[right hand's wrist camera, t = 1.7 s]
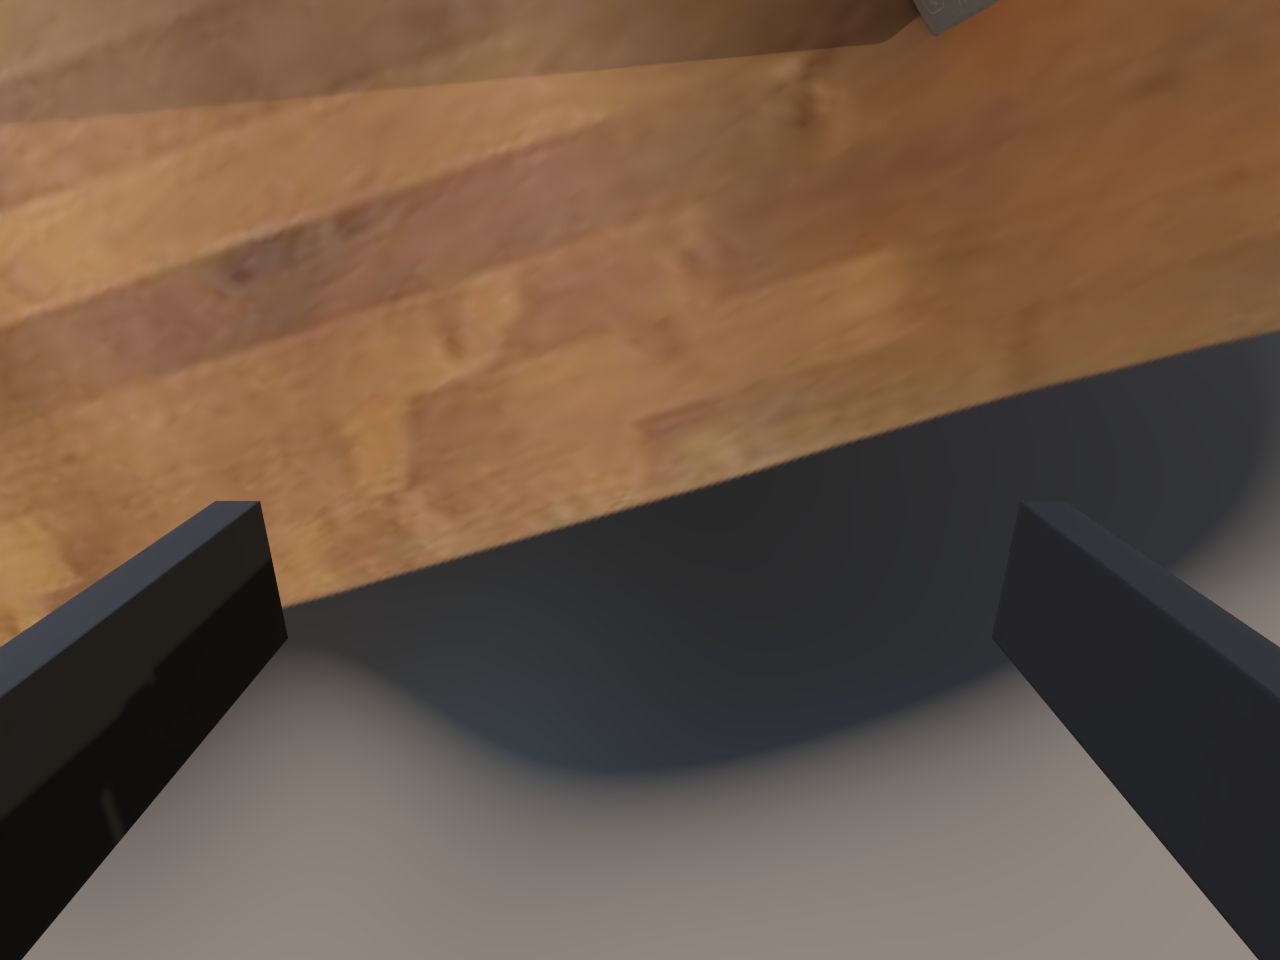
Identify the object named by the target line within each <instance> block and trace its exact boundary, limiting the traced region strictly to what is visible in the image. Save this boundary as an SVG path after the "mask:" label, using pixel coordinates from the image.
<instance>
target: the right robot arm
mask: <svg viewBox="0 0 1280 960" xmlns="http://www.w3.org/2000/svg"><path fill="white" fill-rule="evenodd" d="M287 638H288V636H287V631H286V626H285V621H284V616H283V611H282V606H281V602H280V597H279V592H278V587H277V582H276V577H275V572H274V567H273V563H272V558H271V553H270V548H269V543H268V538H267V533H266V528H265V523H264V519H263V514H262V509H261V504H260V501H215V502H214V503H212V504H211V505H209V506H208V507H206V508H205V509H203V510H202V511H200V512H199V513H197V514H196V515H194V516H193V517H192V518H190V519H189V520H187V521H186V522H184V523H183V524H181V525H180V526H178V527H177V528H175V529H174V530H172V531H171V532H169V533H168V534H166V535H165V536H164V537H162V538H161V539H159V540H158V541H156V542H155V543H153V544H152V545H150V546H149V547H147V548H146V549H144V550H143V551H141V552H140V553H139V554H137V555H136V556H134V557H133V558H131V559H130V560H128V561H127V562H125V563H124V564H122V565H121V566H119V567H118V568H116V569H115V570H113V571H112V572H111V573H109V574H108V575H106V576H105V577H103V578H102V579H100V580H99V581H97V582H96V583H94V584H93V585H91V586H90V587H88V588H87V589H86V590H84V591H83V592H81V593H80V594H78V595H77V596H75V597H74V598H72V599H71V600H69V601H68V602H66V603H65V604H63V605H62V606H60V607H59V608H58V609H56V610H55V611H53V612H52V613H50V614H49V615H47V616H46V617H44V618H43V619H41V620H40V621H38V622H37V623H35V624H34V625H32V626H31V627H30V628H28V629H27V630H25V631H24V632H22V633H21V634H19V635H18V636H16V637H15V638H13V639H12V640H10V641H9V642H7V643H6V644H5V645H3V646H2V647H0V960H22V958H23V957H24V956H25V955H26V954H27V952H28V951H29V950H30V949H31V948H32V946H33V945H34V944H35V943H36V942H37V940H38V939H39V938H40V937H41V936H42V934H43V933H44V932H45V931H46V929H47V928H48V927H49V926H50V925H51V923H52V922H53V921H54V920H55V919H56V917H57V916H58V915H59V914H60V913H61V911H62V910H63V909H64V908H65V907H66V905H67V904H68V903H69V902H70V901H71V899H72V898H73V897H74V896H75V894H76V893H77V892H78V891H79V890H80V888H81V887H82V886H83V885H84V884H85V882H86V881H87V880H88V879H89V878H90V876H91V875H92V874H93V873H94V871H95V870H96V869H97V868H98V867H99V865H100V864H101V863H102V862H103V861H104V859H105V858H106V857H107V856H108V855H109V853H110V852H111V851H112V850H113V849H114V847H115V846H116V845H117V844H118V843H119V841H120V840H121V839H122V838H123V837H124V835H125V834H126V833H127V832H128V830H129V829H130V828H131V827H132V826H133V824H134V823H135V822H136V821H137V820H138V818H139V817H140V816H141V815H142V814H143V812H144V811H145V810H146V809H147V808H148V806H149V805H150V804H151V803H152V802H153V800H154V799H155V798H156V797H157V795H158V794H159V793H160V792H161V791H162V789H163V788H164V787H165V786H166V785H167V783H168V782H169V781H170V780H171V778H172V777H173V776H174V775H175V774H176V773H177V771H178V770H179V769H180V768H181V766H182V765H183V764H184V763H185V762H186V760H187V759H188V758H189V757H190V756H191V754H192V753H193V752H194V751H195V750H196V748H197V747H198V746H199V745H200V744H201V742H202V741H203V740H204V739H205V738H206V736H207V735H208V734H209V733H210V731H211V730H212V729H213V728H214V727H215V725H216V724H217V723H218V722H219V721H220V719H221V718H222V717H223V716H224V715H225V713H226V712H227V711H228V710H229V708H230V707H231V706H232V705H233V704H234V702H235V701H236V700H237V699H238V698H239V696H240V695H241V694H242V693H243V692H244V690H245V689H246V688H247V687H248V686H249V684H250V683H251V682H252V681H253V680H254V678H255V677H256V676H257V675H258V674H259V672H260V671H261V670H262V669H263V667H264V666H265V665H266V664H267V663H268V661H269V660H270V659H271V658H272V657H273V655H274V654H275V653H276V652H277V651H278V649H279V648H280V647H281V646H282V645H283V643H284V642H285V641H286V640H287ZM992 638H993V640H994V641H995V642H996V643H997V645H998V646H999V647H1000V648H1001V649H1002V651H1003V652H1004V653H1005V654H1006V655H1007V657H1008V658H1009V659H1010V660H1011V661H1012V663H1013V664H1014V665H1015V666H1016V668H1017V669H1018V670H1019V671H1020V672H1021V674H1022V675H1023V676H1024V677H1025V678H1026V680H1027V681H1028V682H1029V683H1030V684H1031V686H1032V687H1033V688H1034V689H1035V690H1036V692H1037V693H1038V694H1039V695H1040V696H1041V698H1042V699H1043V700H1044V701H1045V703H1046V704H1047V705H1048V706H1049V707H1050V709H1051V710H1052V711H1053V712H1054V713H1055V715H1056V716H1057V717H1058V718H1059V719H1060V721H1061V722H1062V723H1063V724H1064V725H1065V727H1066V728H1067V729H1068V730H1069V732H1070V733H1071V734H1072V735H1073V736H1074V738H1075V739H1076V740H1077V741H1078V742H1079V744H1080V745H1081V746H1082V747H1083V748H1084V750H1085V751H1086V752H1087V753H1088V754H1089V756H1090V757H1091V758H1092V759H1093V760H1094V762H1095V763H1096V764H1097V765H1098V767H1099V768H1100V769H1101V770H1102V771H1103V773H1104V774H1105V775H1106V776H1107V777H1108V779H1109V780H1110V781H1111V782H1112V783H1113V785H1114V786H1115V787H1116V788H1117V789H1118V791H1119V792H1120V793H1121V794H1122V795H1123V797H1124V798H1125V799H1126V800H1127V802H1128V803H1129V804H1130V805H1131V806H1132V808H1133V809H1134V810H1135V811H1136V812H1137V814H1138V815H1139V816H1140V817H1141V818H1142V820H1143V821H1144V822H1145V823H1146V824H1147V826H1148V827H1149V828H1150V829H1151V830H1152V832H1153V833H1154V834H1155V835H1156V836H1157V838H1158V839H1159V840H1160V841H1161V843H1162V844H1163V845H1164V846H1165V847H1166V849H1167V850H1168V851H1169V852H1170V853H1171V855H1172V856H1173V857H1174V858H1175V859H1176V861H1177V862H1178V863H1179V864H1180V866H1181V867H1182V868H1183V869H1184V870H1185V872H1186V873H1187V874H1188V875H1189V876H1190V878H1191V879H1192V880H1193V881H1194V882H1195V884H1196V885H1197V886H1198V887H1199V888H1200V890H1201V891H1202V892H1203V893H1204V894H1205V896H1206V897H1207V898H1208V899H1209V901H1210V902H1211V903H1212V904H1213V905H1214V907H1215V908H1216V909H1217V910H1218V911H1219V913H1220V914H1221V915H1222V916H1223V917H1224V919H1225V920H1226V921H1227V922H1228V923H1229V925H1230V926H1231V927H1232V928H1233V930H1234V931H1235V932H1236V933H1237V934H1238V936H1239V937H1240V938H1241V939H1242V940H1243V942H1244V943H1245V944H1246V945H1247V946H1248V948H1249V949H1250V950H1251V951H1252V952H1253V954H1254V955H1255V956H1256V957H1257V958H1258V960H1280V647H1278V646H1277V645H1275V644H1274V643H1273V642H1271V641H1270V640H1268V639H1267V638H1265V637H1264V636H1262V635H1261V634H1259V633H1258V632H1256V631H1255V630H1253V629H1252V628H1250V627H1249V626H1247V625H1246V624H1245V623H1243V622H1242V621H1240V620H1239V619H1237V618H1236V617H1234V616H1233V615H1231V614H1230V613H1228V612H1227V611H1225V610H1224V609H1222V608H1221V607H1219V606H1218V605H1217V604H1215V603H1214V602H1212V601H1211V600H1209V599H1208V598H1206V597H1205V596H1203V595H1202V594H1200V593H1199V592H1197V591H1196V590H1194V589H1193V588H1192V587H1190V586H1189V585H1187V584H1186V583H1184V582H1183V581H1181V580H1180V579H1178V578H1177V577H1175V576H1174V575H1172V574H1171V573H1169V572H1168V571H1167V570H1165V569H1164V568H1162V567H1161V566H1159V565H1158V564H1156V563H1155V562H1153V561H1152V560H1150V559H1149V558H1147V557H1146V556H1144V555H1143V554H1141V553H1140V552H1139V551H1137V550H1136V549H1134V548H1133V547H1131V546H1130V545H1128V544H1127V543H1125V542H1124V541H1122V540H1121V539H1119V538H1118V537H1116V536H1115V535H1113V534H1112V533H1111V532H1109V531H1108V530H1106V529H1105V528H1103V527H1102V526H1100V525H1099V524H1097V523H1096V522H1094V521H1093V520H1091V519H1090V518H1088V517H1087V516H1086V515H1084V514H1083V513H1081V512H1080V511H1078V510H1077V509H1075V508H1074V507H1072V506H1071V505H1069V504H1068V503H1066V502H1065V501H1020V504H1019V509H1018V514H1017V519H1016V524H1015V528H1014V533H1013V538H1012V543H1011V548H1010V553H1009V558H1008V563H1007V567H1006V572H1005V577H1004V582H1003V587H1002V592H1001V597H1000V602H999V607H998V611H997V616H996V621H995V626H994V631H993V636H992Z"/></svg>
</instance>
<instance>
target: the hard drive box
mask: <svg viewBox="0 0 1280 960" xmlns="http://www.w3.org/2000/svg"><path fill="white" fill-rule="evenodd" d="M998 1H1000V0H913V2H914V4H915V5H916V7H917V9H918V11H919V12H920V14H921V16H922V18H923V19H924V21H925V23H926V24H927V26H928V28H929V29H930V31H931V32H932V34H933V35H935V36H937V35H939V34H941V33H943V32H945V31H947V30H948V29H950V28H952V27H954V26H956V25H957V24H959V23H961V22H963V21H965V20H967V19H968V18H970V17H972V16H974V15H975V14H977V13H979V12H981V11H982V10H984V9H986V8H987V7H989V6H991V5H992V4H994V3H996V2H998Z"/></svg>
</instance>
